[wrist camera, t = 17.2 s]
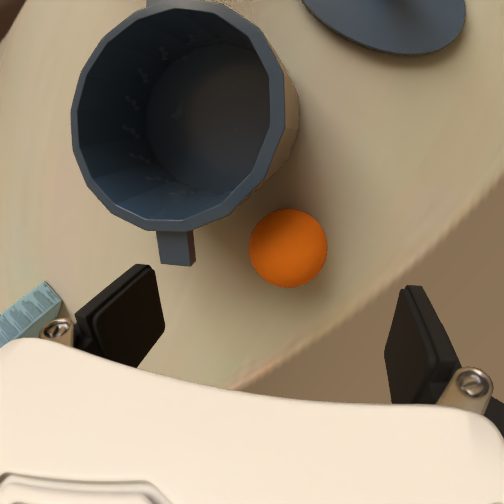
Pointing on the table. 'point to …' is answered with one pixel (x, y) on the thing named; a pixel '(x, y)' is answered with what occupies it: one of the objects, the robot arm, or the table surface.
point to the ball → (288, 248)
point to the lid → (393, 23)
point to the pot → (181, 119)
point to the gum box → (29, 314)
